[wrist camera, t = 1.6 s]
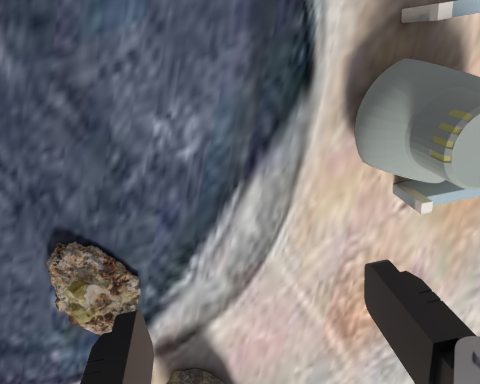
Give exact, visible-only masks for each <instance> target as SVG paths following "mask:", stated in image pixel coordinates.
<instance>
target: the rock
mask: <svg viewBox="0 0 480 384" xmlns="http://www.w3.org/2000/svg"><path fill="white" fill-rule="evenodd" d="M167 384H224V383H223V382H221V381H220V380H219V379H217V378H216V377H215V376H213V375H211V374H210V373H208V372H206V371H203V370H201V369H189V370H184V371H174V372H173V373H172V374H171V378H170V380H169V381H168V383H167Z"/></svg>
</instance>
